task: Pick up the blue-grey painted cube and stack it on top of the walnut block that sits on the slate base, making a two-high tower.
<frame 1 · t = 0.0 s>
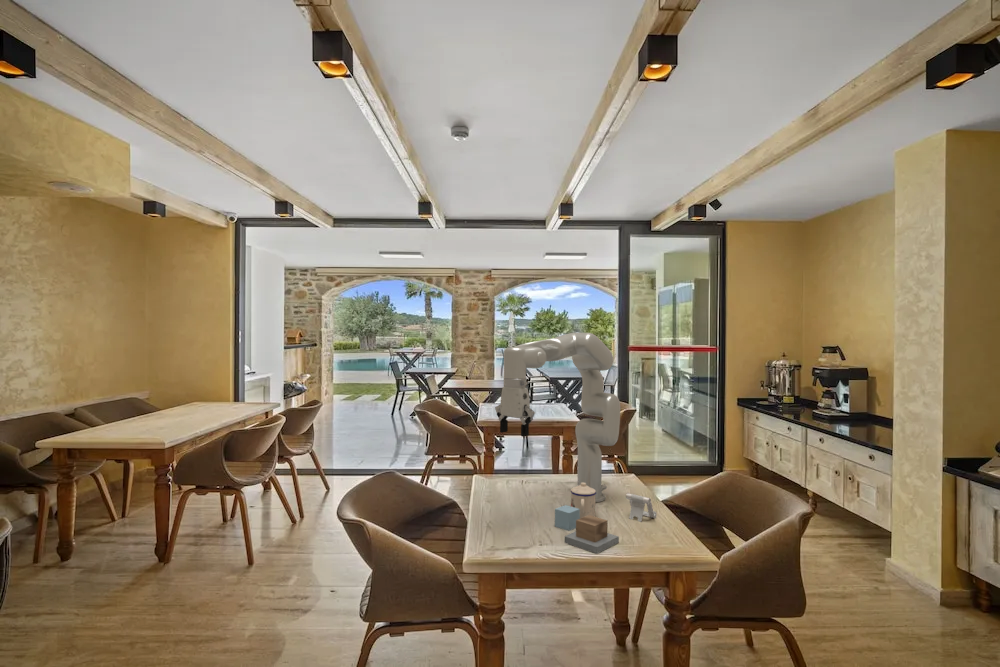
hand: (514, 434, 178), 31 cm above the table, fingers open, 9 cm apart
walnut block: (591, 536, 164), point 2 cm above the table, touching slate base
slate base: (591, 542, 164), on the table
portable electronic device stand: (640, 518, 188), on the table
cube: (567, 526, 178), on the table
teacup with lid: (582, 517, 188), on the table
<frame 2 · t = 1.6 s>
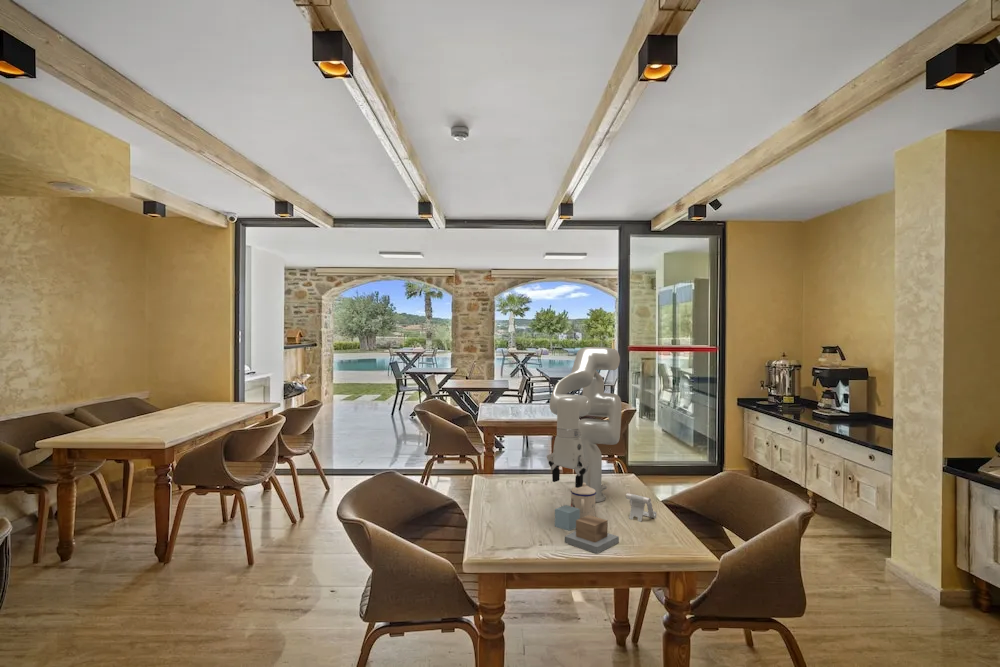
hand: (567, 484, 178), 14 cm above the table, fingers open, 9 cm apart
nothing on the table moved.
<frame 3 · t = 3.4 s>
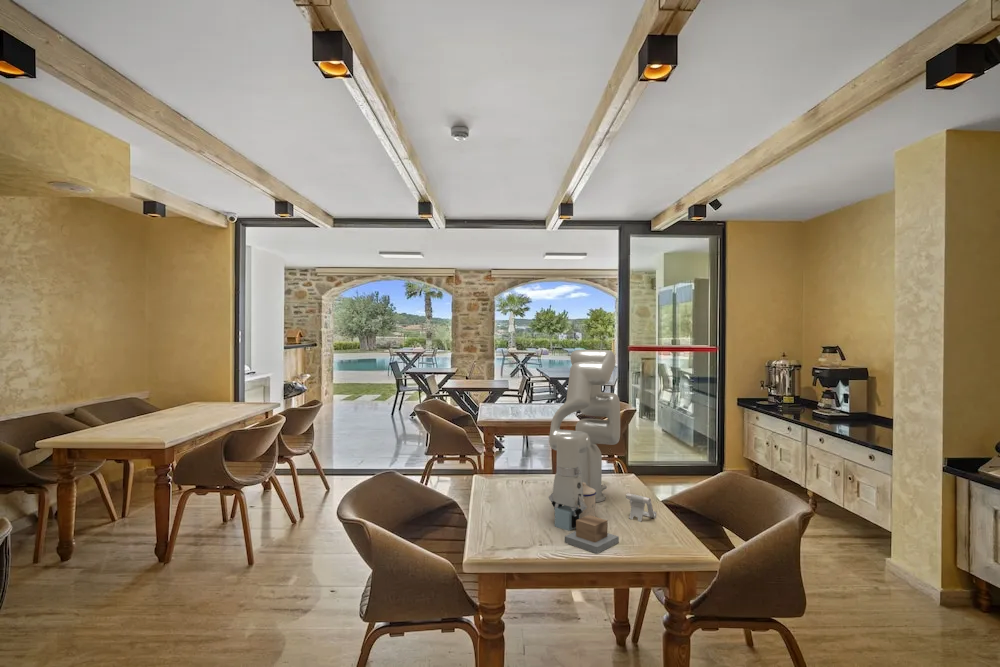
hand: (567, 523, 178), 1 cm above the table, fingers closed on cube, 6 cm apart
cube: (567, 526, 178), on the table, touching gripper
everything else where it was.
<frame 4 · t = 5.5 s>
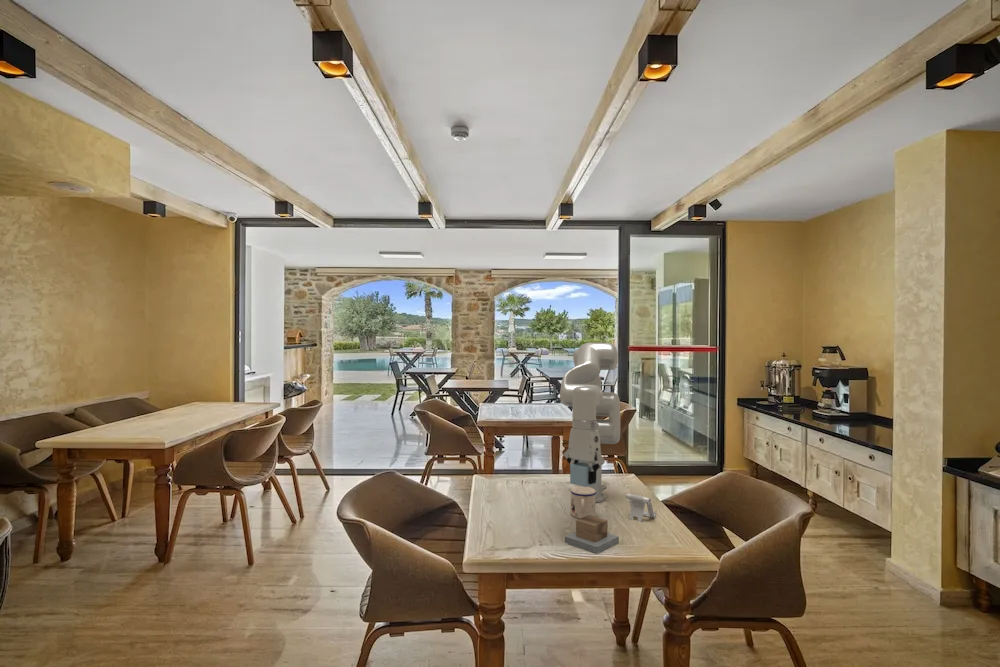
hand: (583, 480, 169), 18 cm above the table, fingers closed on cube, 6 cm apart
cube: (583, 483, 169), point 17 cm above the table, touching gripper
everything else where it was.
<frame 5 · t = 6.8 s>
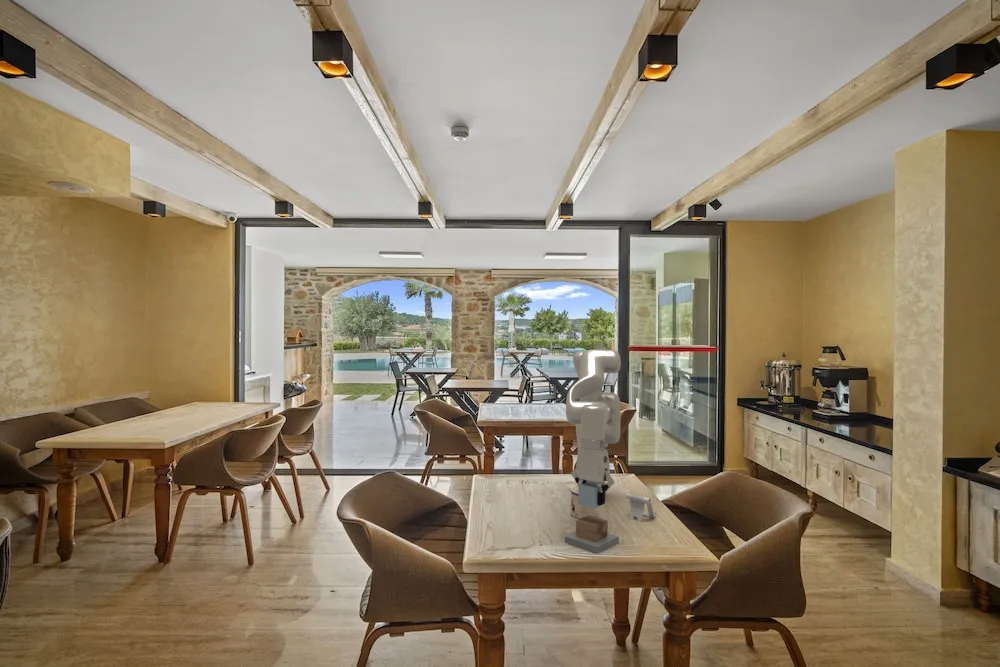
hand: (592, 501, 164), 13 cm above the table, fingers closed on cube, 6 cm apart
cube: (591, 504, 164), point 12 cm above the table, touching gripper
everything else where it was.
when the fingers open (9 cm above the table, at t = 8.0 s): cube stays where it is, resting on walnut block.
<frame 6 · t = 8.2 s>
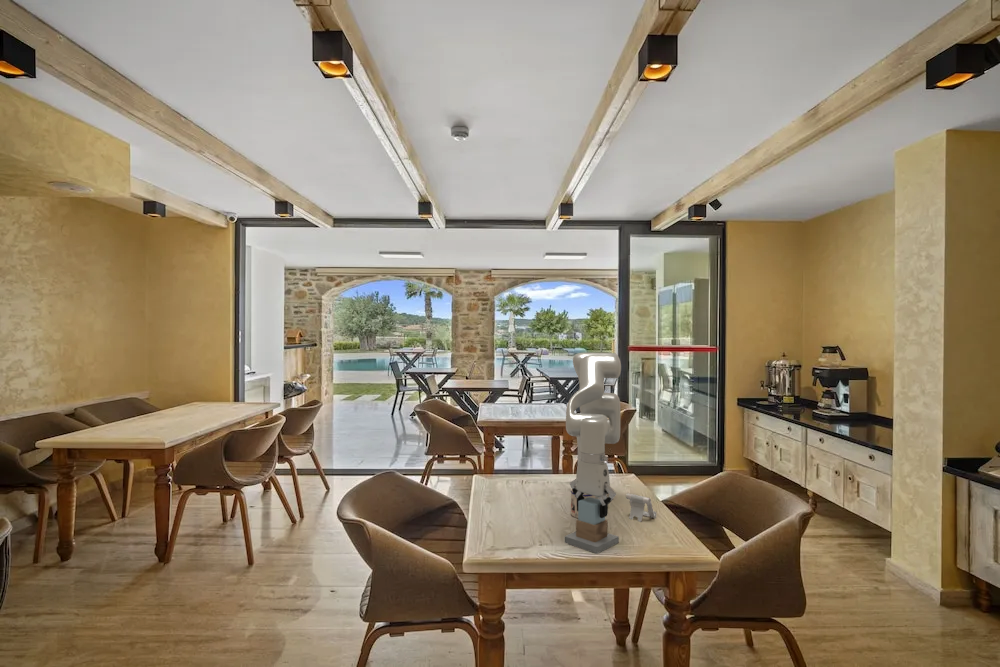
hand: (591, 513, 164), 9 cm above the table, fingers open, 8 cm apart
walnut block: (591, 536, 164), point 2 cm above the table, touching cube, slate base
cube: (591, 520, 164), point 7 cm above the table, touching walnut block
everything else where it was.
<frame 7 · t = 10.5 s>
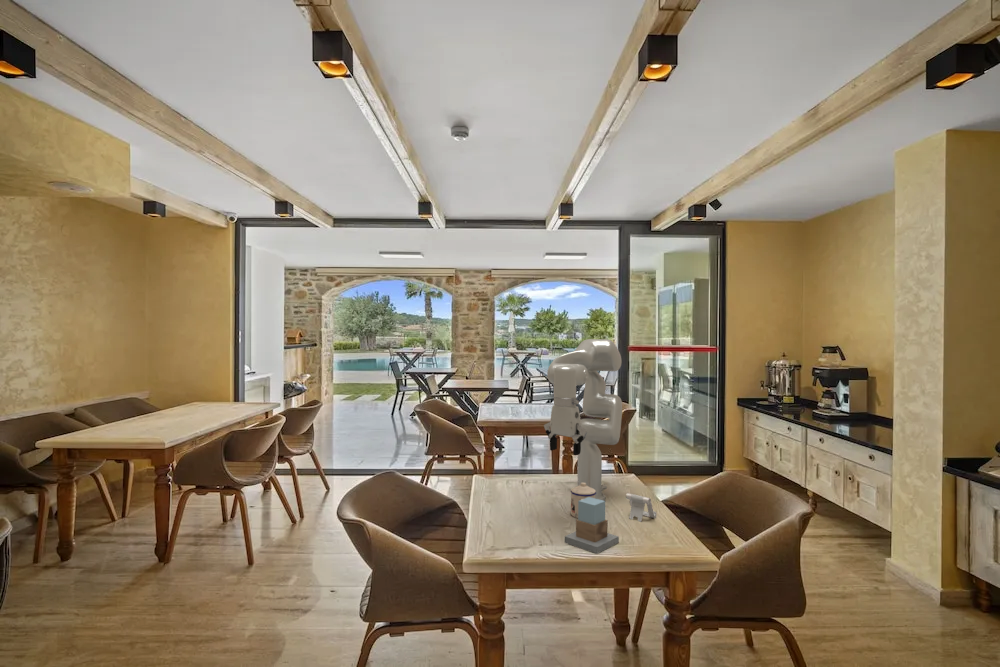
hand: (564, 452, 179), 25 cm above the table, fingers open, 9 cm apart
nothing on the table moved.
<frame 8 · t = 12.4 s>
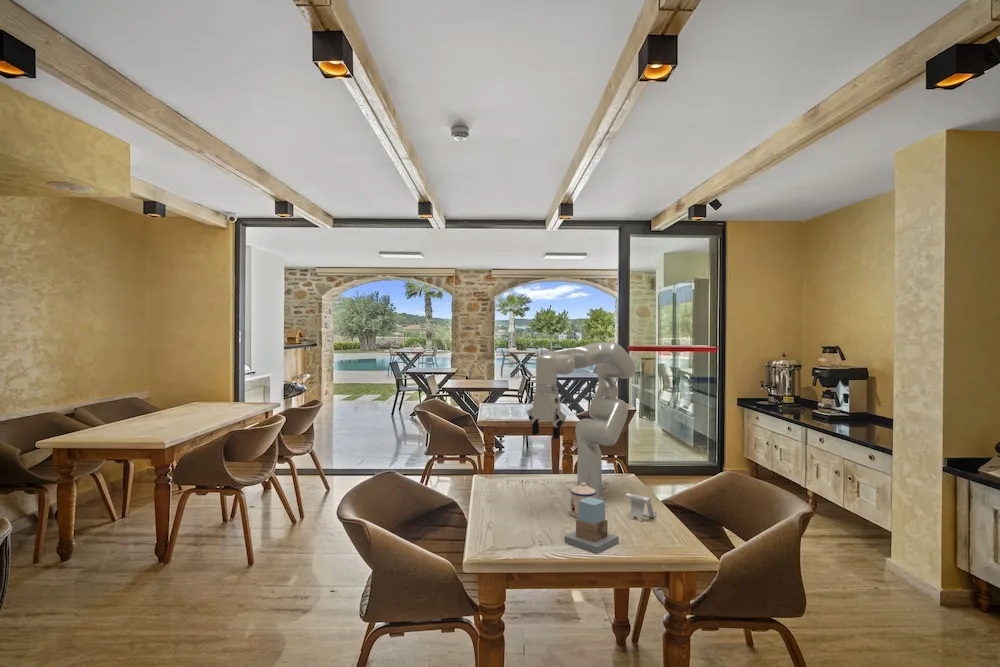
hand: (545, 436, 190), 28 cm above the table, fingers open, 9 cm apart
nothing on the table moved.
at the end: cube 0.0 cm off-centre on the walnut block, point 5.0 cm above the walnut block's base; cube tilted 0°; walnut block inside the target area on the slate base (0.0 cm from its centre), point 2.0 cm above the slate base's base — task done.
